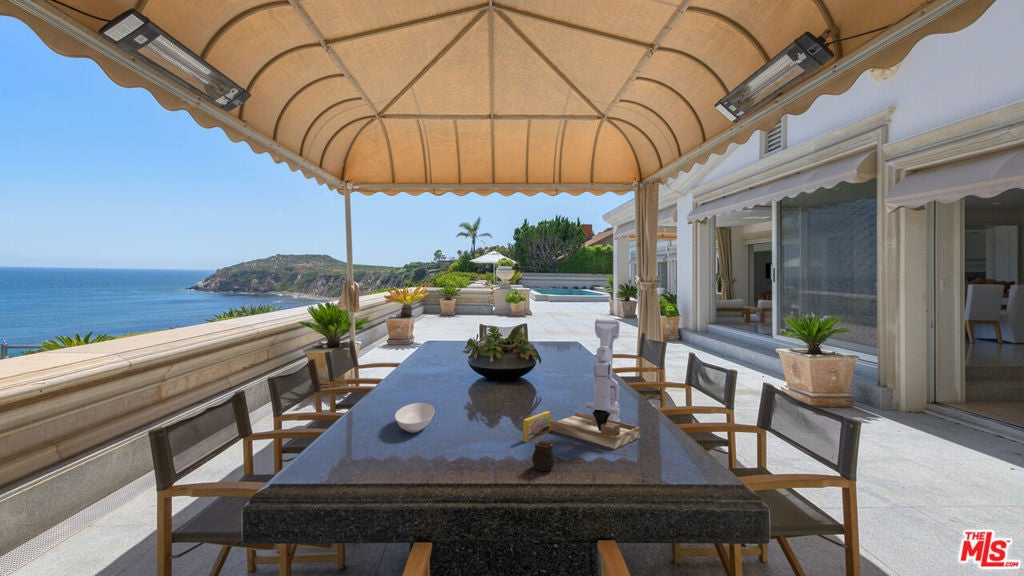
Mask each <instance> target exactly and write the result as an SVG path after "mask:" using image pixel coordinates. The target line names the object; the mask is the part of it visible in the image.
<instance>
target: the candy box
mask: <svg viewBox="0 0 1024 576" xmlns="http://www.w3.org/2000/svg"><path fill="white" fill-rule="evenodd" d="M550 420H551V411H548V410H546V411H543V412H541V413H537V414H535V415H532V416H530V417H527V418H524V419H523V421H522V422H523V423H522V424H523V425H522V428H523V429H522V440H521V441H522V443H523V442H524V443H528V442H531V441H532V440H535V439H537V438H538V437H541V436H544V435H546V434H548V433H550V431H551V430H550Z"/></svg>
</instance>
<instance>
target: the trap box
mask: <svg viewBox="0 0 1024 576" xmlns="http://www.w3.org/2000/svg"><path fill="white" fill-rule="evenodd" d="M574 414H575V415H571V416H568V417H566V418H563V419H559V420H554V419H550V431H552V432H556V433H560V434H562V435H566V436H570V437H573V438H577V439H579V440H583V441H586V442H590V443H594V444H597V445H601V446H603V447H607V448H611V449H613V450H615V449H617V448H620V447H622V446H624V445H627V444H628V443H630V442H633V441H635V440H637V439H640V438H641V427H640V426H636V425H634V424H629V423H625V422H621V421H620V422H617V421H613V420H609V419H607V422H611V423H615V424H619V425H620V435H618V436H615V437H613V436H610V435H606V434H602V433H601V431H599V430H598V425H597V422H596V419H595V417H594V415H592V414H588V413H583V412H580V411H575V413H574ZM607 422H606V423H607Z"/></svg>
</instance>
